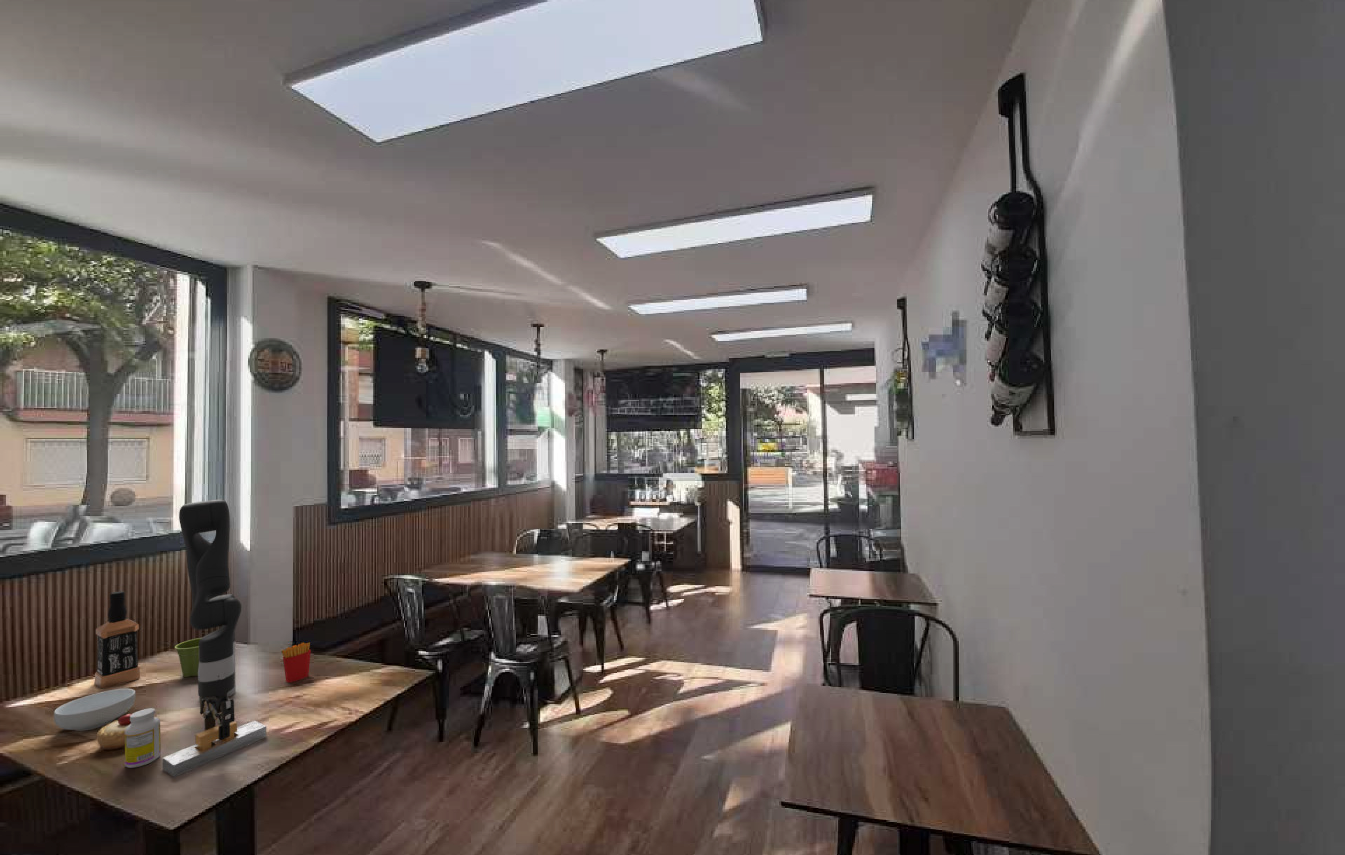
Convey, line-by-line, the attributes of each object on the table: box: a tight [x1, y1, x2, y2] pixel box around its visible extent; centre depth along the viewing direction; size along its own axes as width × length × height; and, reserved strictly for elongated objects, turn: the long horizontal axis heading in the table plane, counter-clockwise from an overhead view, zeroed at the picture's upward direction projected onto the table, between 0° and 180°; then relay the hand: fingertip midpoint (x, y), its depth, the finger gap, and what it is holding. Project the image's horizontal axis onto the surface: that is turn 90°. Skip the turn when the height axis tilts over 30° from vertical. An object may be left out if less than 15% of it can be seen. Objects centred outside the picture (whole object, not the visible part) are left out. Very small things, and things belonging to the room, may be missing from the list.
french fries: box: [281, 642, 312, 683], centre depth 187 cm, size 8×4×12 cm, turn 147°
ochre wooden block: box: [194, 721, 238, 751], centre depth 142 cm, size 3×8×6 cm, turn 151°
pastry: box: [96, 708, 157, 751], centre depth 149 cm, size 12×12×9 cm
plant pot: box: [174, 637, 202, 678], centre depth 194 cm, size 12×12×11 cm
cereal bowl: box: [53, 688, 136, 732], centre depth 159 cm, size 17×17×7 cm
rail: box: [162, 720, 267, 778], centre depth 142 cm, size 7×20×3 cm, turn 151°
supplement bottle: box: [124, 707, 162, 769], centre depth 139 cm, size 7×7×13 cm
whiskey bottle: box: [94, 590, 141, 690], centre depth 190 cm, size 10×10×32 cm
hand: (217, 734), depth 142 cm, fingers open, 8 cm apart
